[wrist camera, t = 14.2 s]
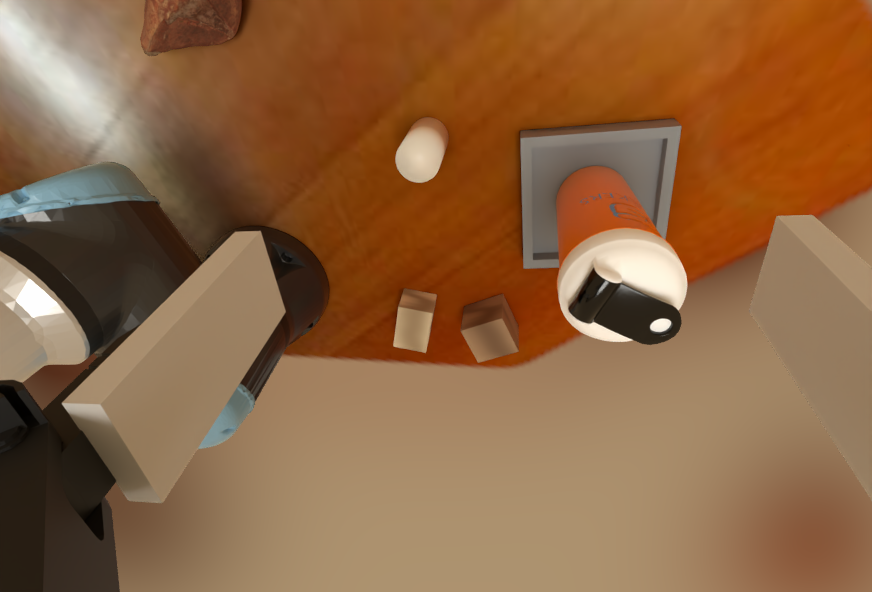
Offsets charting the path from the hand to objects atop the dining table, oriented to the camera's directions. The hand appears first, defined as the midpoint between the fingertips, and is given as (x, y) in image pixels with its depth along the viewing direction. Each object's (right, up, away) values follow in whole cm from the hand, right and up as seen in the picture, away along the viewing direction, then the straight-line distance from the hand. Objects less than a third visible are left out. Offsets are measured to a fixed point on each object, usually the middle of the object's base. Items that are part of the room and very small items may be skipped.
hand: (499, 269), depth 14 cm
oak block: (-4, -3, +49) cm, 50 cm away
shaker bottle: (+14, +9, +38) cm, 41 cm away
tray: (+14, +10, +38) cm, 42 cm away
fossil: (-22, +27, +32) cm, 48 cm away
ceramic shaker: (-2, +15, +37) cm, 40 cm away
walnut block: (+5, -3, +48) cm, 49 cm away
